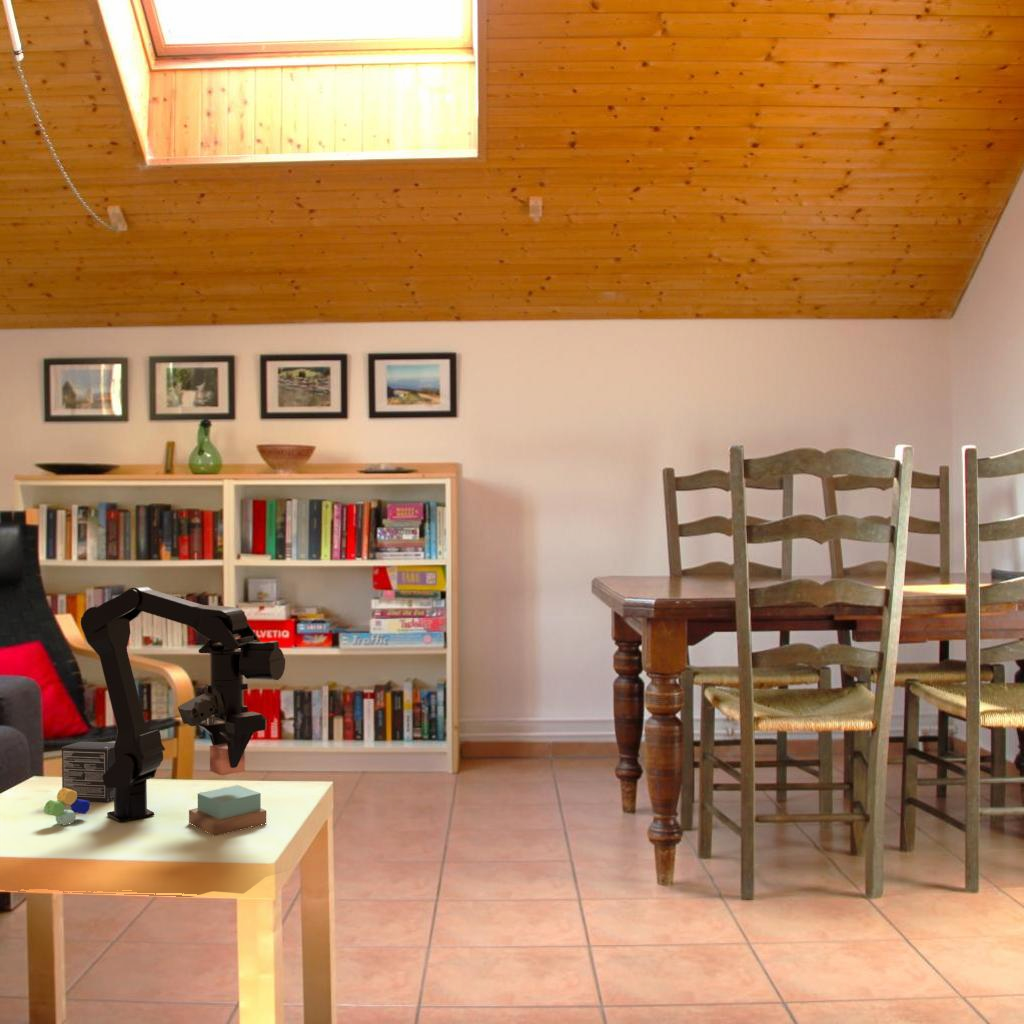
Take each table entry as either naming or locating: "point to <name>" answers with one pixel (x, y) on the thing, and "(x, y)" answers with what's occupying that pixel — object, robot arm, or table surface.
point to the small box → (88, 769)
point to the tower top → (229, 801)
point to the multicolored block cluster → (58, 807)
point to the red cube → (223, 760)
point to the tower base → (226, 821)
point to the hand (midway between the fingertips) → (227, 765)
